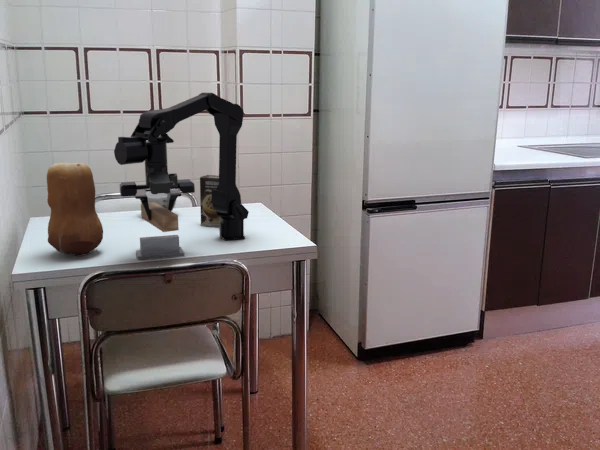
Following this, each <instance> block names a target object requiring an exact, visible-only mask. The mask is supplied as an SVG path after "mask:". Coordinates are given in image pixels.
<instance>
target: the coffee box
mask: <svg viewBox="0 0 600 450" xmlns="http://www.w3.org/2000/svg"><path fill="white" fill-rule="evenodd" d="M218 184H219V175H216V174H215V175H213V174H206V175H202V176H200V177H199V194H200V195H199V197H200V200H199V201H200V202H199V203H200V204H199V205H200V226H201V227H209V228H210V227H213V228H219V222H221V217H220V216H217V214H216V211H215V209H214V208H213V205H212V203H211V199H212V195H211V191H212V189H213V190H216V188H217V186H218Z"/></svg>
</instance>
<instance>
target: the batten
mask: <svg viewBox="0 0 600 450" xmlns="http://www.w3.org/2000/svg"><path fill="white" fill-rule="evenodd" d="M148 204H149V210H150V216H151V220H150V221H149V219H148V216H147V214H146V211H145V209H144V206H143V204H142V203H140V215H141V219H143V220H144V221H146V222H147V223H148V224H151V226H153V227H155V228H156V229H158V230H159V231H161V232H162V233H168V232H169V233H170V232H175V231H179V230H180V229H179V228H180V227H179V215H178V214H177V213H175V212H173V210H172V211H170V210H168V209H166V208H164V207H162V206H161V205H159V204H157V203H155V202H154V203H148Z"/></svg>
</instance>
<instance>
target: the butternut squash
mask: <svg viewBox="0 0 600 450" xmlns="http://www.w3.org/2000/svg"><path fill="white" fill-rule="evenodd" d="M46 172H47V173H46V185H47V188H46V190H47V201H46V202H47V205H48V206H49V208H50V215H49V221H48V225H47V237H48V238H47V242H48V244H49V245H51V247H53V248H54V249H55V250H56V251H57V252H59V253H63V254H66V255H74V256H76V257H77V256H78V257H79V256H85V255H89V254H90V253H91V252H92V251H94V250H95V249H97V247H99V246H100V244H101V243H102V241H103V239H104V228H103V224H102V222H101V219H100V217H99V215H98V214H97V210H96V186H95V180H94V175H93V172H92V169H91V168H90V167H89V166H88V165H87V164H86V163H83V162H64V161H61V162H56V163H54V164H51V166H49V167H48V169H47V171H46Z"/></svg>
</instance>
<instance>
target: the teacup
mask: <svg viewBox="0 0 600 450" xmlns="http://www.w3.org/2000/svg"><path fill="white" fill-rule="evenodd" d="M146 195H147V197H148V203H154V202H155V203H157V204H159V205H161V206H162V207H164V208H166V209H167V194H165V193H159V194H152V193H151V191H149V192H146ZM176 203H177V199H176V200H175V202H174V205H173V207H172V211H173V210H174V208H175V206H176ZM140 204H142V202H141V201H140Z"/></svg>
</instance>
